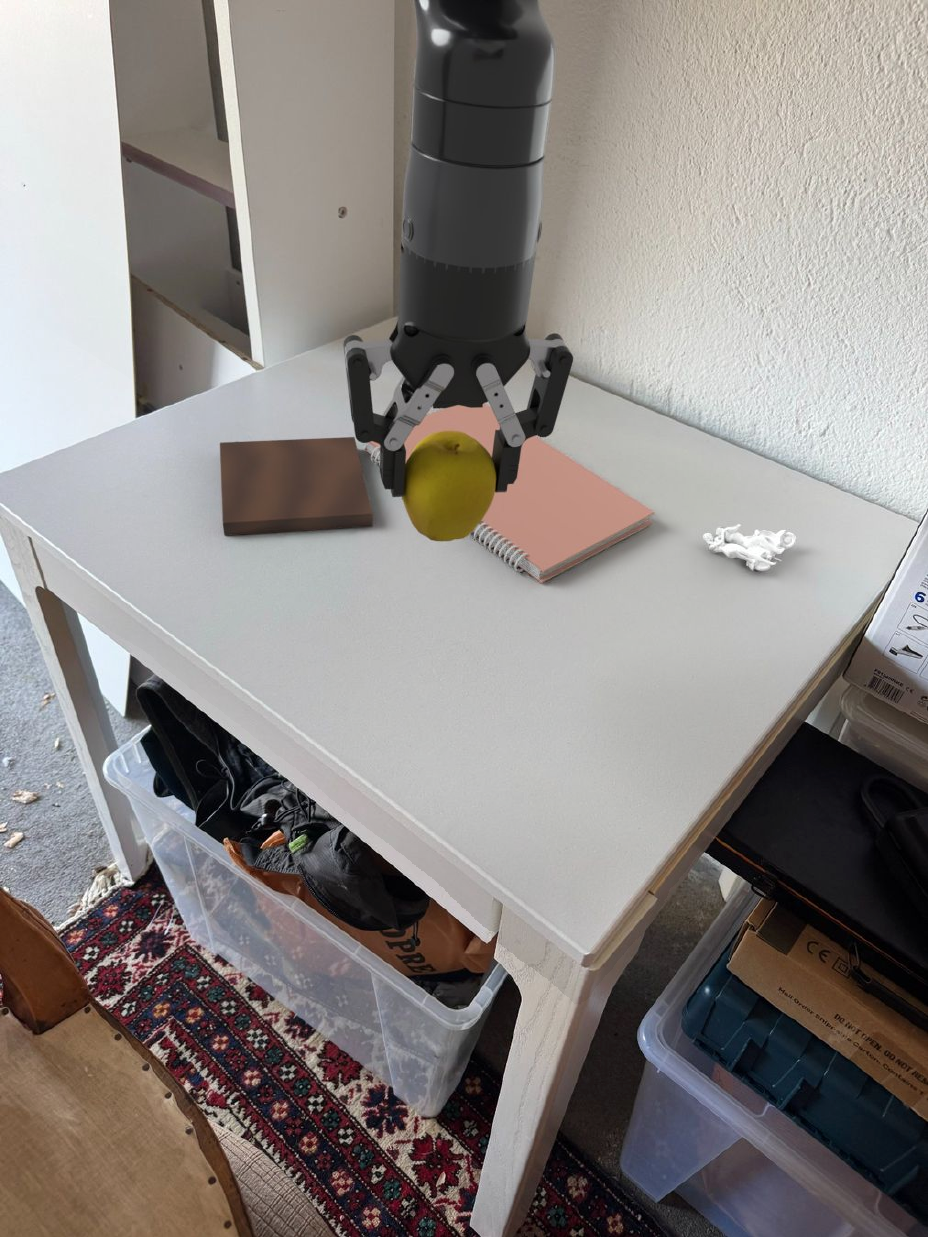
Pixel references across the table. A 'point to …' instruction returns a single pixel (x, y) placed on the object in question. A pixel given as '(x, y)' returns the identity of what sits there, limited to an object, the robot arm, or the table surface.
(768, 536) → the figurine
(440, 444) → the apple
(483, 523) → the notebook
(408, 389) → the robot arm
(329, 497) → the cutting board
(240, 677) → the table surface
